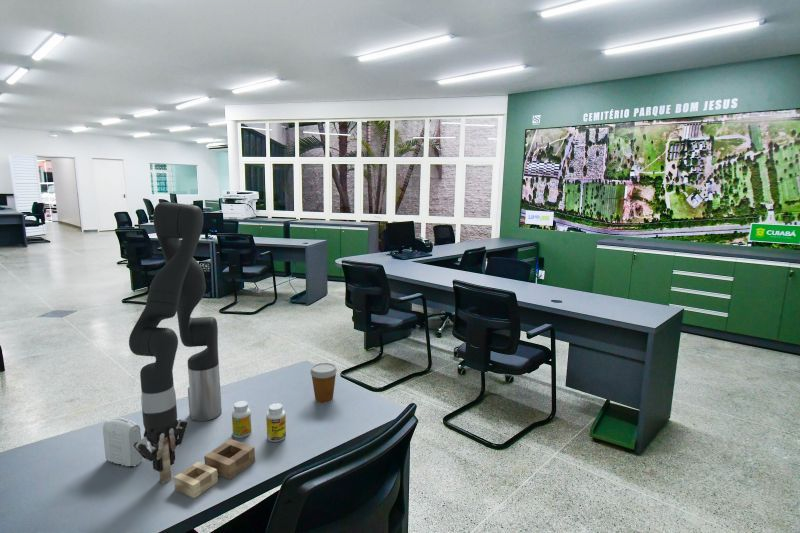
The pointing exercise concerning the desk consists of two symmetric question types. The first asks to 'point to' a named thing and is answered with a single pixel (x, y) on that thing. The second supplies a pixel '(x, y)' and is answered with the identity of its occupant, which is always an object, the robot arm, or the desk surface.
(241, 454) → the brown wooden square frame
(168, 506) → the desk surface
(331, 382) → the disposable coffee cup
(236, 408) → the supplement bottle
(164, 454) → the wooden peg
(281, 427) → the supplement bottle
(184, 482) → the light wood hollow block
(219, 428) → the desk surface
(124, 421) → the photo printer
